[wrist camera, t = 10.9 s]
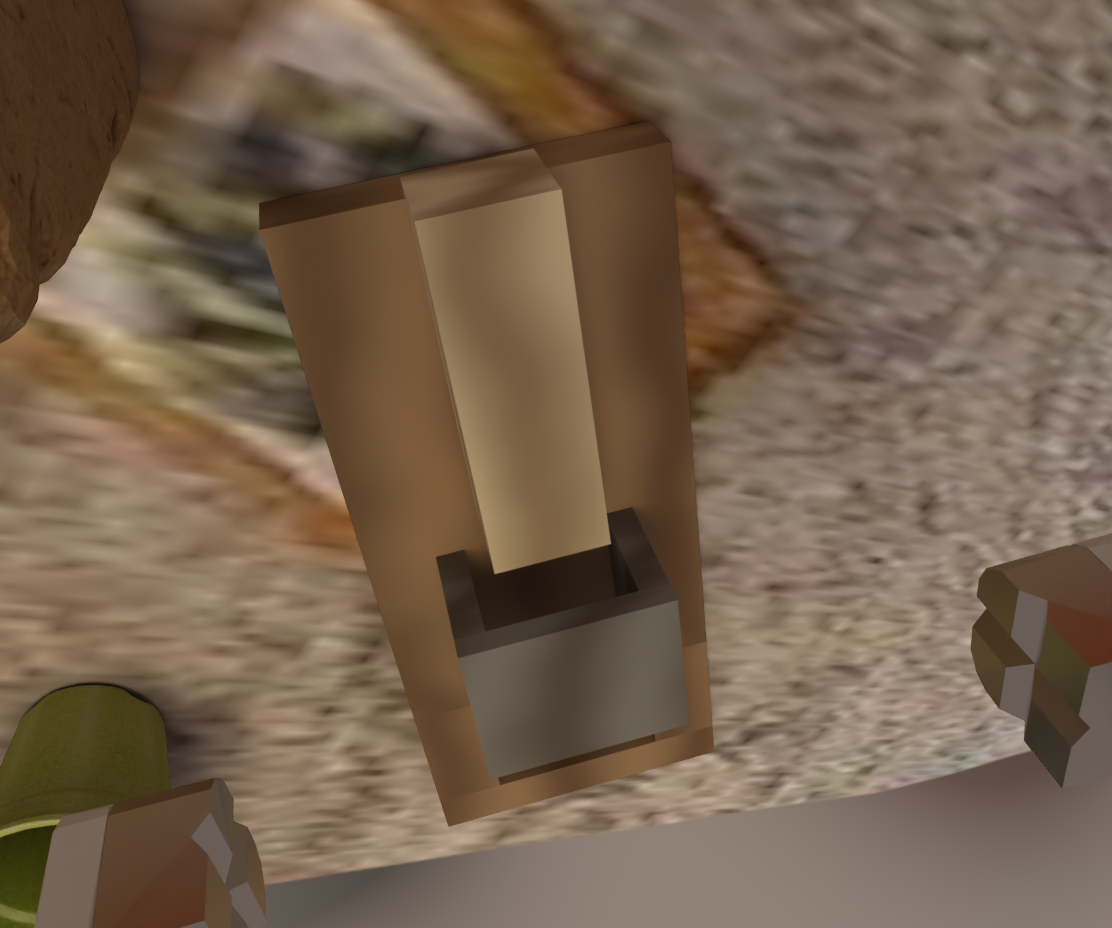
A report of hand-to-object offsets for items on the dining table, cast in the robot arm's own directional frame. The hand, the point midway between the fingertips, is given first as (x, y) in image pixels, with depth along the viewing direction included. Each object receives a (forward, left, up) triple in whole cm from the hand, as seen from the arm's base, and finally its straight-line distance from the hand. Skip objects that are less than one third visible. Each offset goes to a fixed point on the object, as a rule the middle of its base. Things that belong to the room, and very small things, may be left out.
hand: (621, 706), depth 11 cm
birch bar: (-2, +10, -27) cm, 29 cm away
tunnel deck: (-2, +20, -29) cm, 35 cm away
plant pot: (+19, +26, -29) cm, 44 cm away
